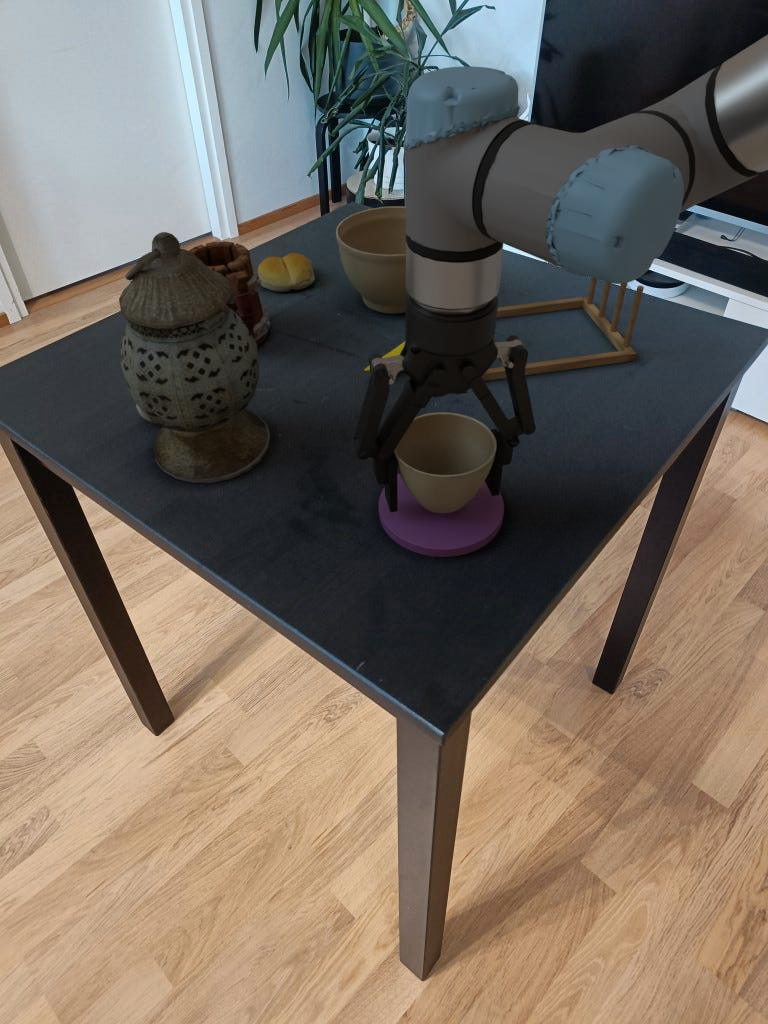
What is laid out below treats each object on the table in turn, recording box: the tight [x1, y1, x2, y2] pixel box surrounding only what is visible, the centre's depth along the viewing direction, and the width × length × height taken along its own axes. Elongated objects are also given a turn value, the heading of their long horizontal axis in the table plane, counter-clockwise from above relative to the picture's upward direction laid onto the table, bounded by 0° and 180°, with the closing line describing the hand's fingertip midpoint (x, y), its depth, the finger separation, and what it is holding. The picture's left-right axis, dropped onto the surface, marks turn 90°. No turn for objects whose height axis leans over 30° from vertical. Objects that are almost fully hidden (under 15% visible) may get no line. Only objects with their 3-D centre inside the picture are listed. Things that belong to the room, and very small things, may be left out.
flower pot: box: [394, 411, 497, 513], centre depth 71 cm, size 10×10×7 cm
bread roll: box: [257, 252, 316, 293], centre depth 111 cm, size 8×9×4 cm
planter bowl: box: [335, 205, 408, 315], centre depth 104 cm, size 16×16×11 cm
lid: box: [378, 472, 505, 558], centre depth 74 cm, size 13×13×1 cm
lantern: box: [118, 231, 271, 484], centre depth 74 cm, size 14×14×25 cm
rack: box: [482, 277, 645, 382], centre depth 95 cm, size 16×21×10 cm
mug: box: [188, 240, 271, 347], centre depth 96 cm, size 12×14×15 cm
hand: (441, 494), depth 73 cm, fingers closed on flower pot, 10 cm apart
